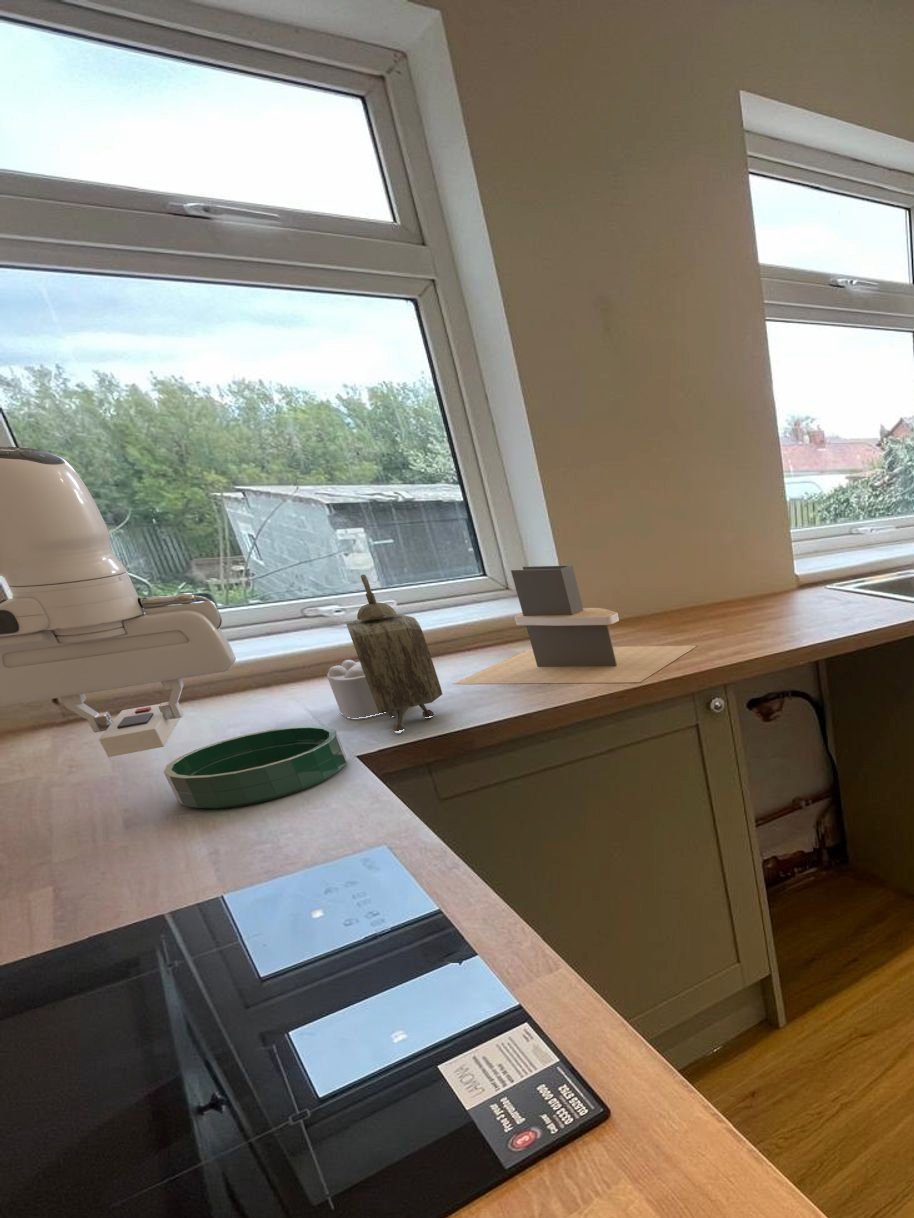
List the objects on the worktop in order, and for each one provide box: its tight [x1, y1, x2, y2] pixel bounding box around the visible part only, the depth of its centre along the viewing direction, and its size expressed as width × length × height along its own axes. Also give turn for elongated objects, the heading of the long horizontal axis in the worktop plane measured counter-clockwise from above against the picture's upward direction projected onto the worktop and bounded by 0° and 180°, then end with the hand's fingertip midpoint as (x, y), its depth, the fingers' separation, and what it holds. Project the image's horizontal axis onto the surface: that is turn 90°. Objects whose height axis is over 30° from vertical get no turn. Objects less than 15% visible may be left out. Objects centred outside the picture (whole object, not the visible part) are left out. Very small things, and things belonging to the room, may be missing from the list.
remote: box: [98, 703, 181, 758], centre depth 93 cm, size 12×4×2 cm, turn 37°
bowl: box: [163, 725, 347, 810], centre depth 116 cm, size 19×19×5 cm
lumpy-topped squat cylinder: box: [326, 659, 411, 721], centre depth 145 cm, size 10×13×9 cm
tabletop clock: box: [345, 574, 443, 732], centre depth 133 cm, size 14×9×25 cm, turn 40°
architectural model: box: [453, 564, 697, 685], centre depth 163 cm, size 38×25×20 cm, turn 85°
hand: (139, 723), depth 93 cm, fingers closed on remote, 4 cm apart
